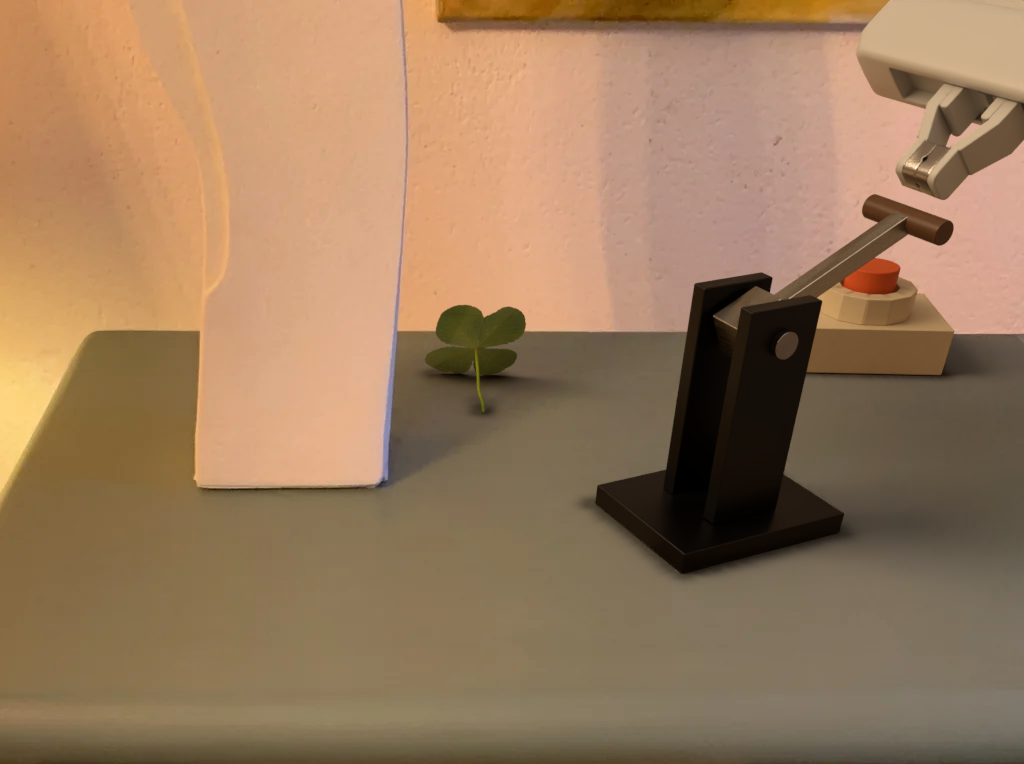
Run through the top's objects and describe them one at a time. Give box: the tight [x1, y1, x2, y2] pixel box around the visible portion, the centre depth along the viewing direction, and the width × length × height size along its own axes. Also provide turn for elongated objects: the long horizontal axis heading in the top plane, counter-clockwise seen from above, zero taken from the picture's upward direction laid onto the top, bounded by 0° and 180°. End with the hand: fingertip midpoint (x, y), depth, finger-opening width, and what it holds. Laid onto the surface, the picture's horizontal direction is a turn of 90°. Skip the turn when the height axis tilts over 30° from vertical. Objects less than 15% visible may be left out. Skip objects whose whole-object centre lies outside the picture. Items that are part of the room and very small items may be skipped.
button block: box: [806, 276, 955, 376], centre depth 85 cm, size 11×8×5 cm
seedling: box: [424, 304, 527, 414], centre depth 80 cm, size 7×8×7 cm
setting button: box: [843, 257, 901, 295], centre depth 83 cm, size 4×4×2 cm
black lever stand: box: [595, 271, 845, 574], centre depth 63 cm, size 11×9×13 cm
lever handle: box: [713, 193, 955, 360], centre depth 60 cm, size 12×6×2 cm, turn 116°
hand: (917, 185), depth 60 cm, fingers closed
